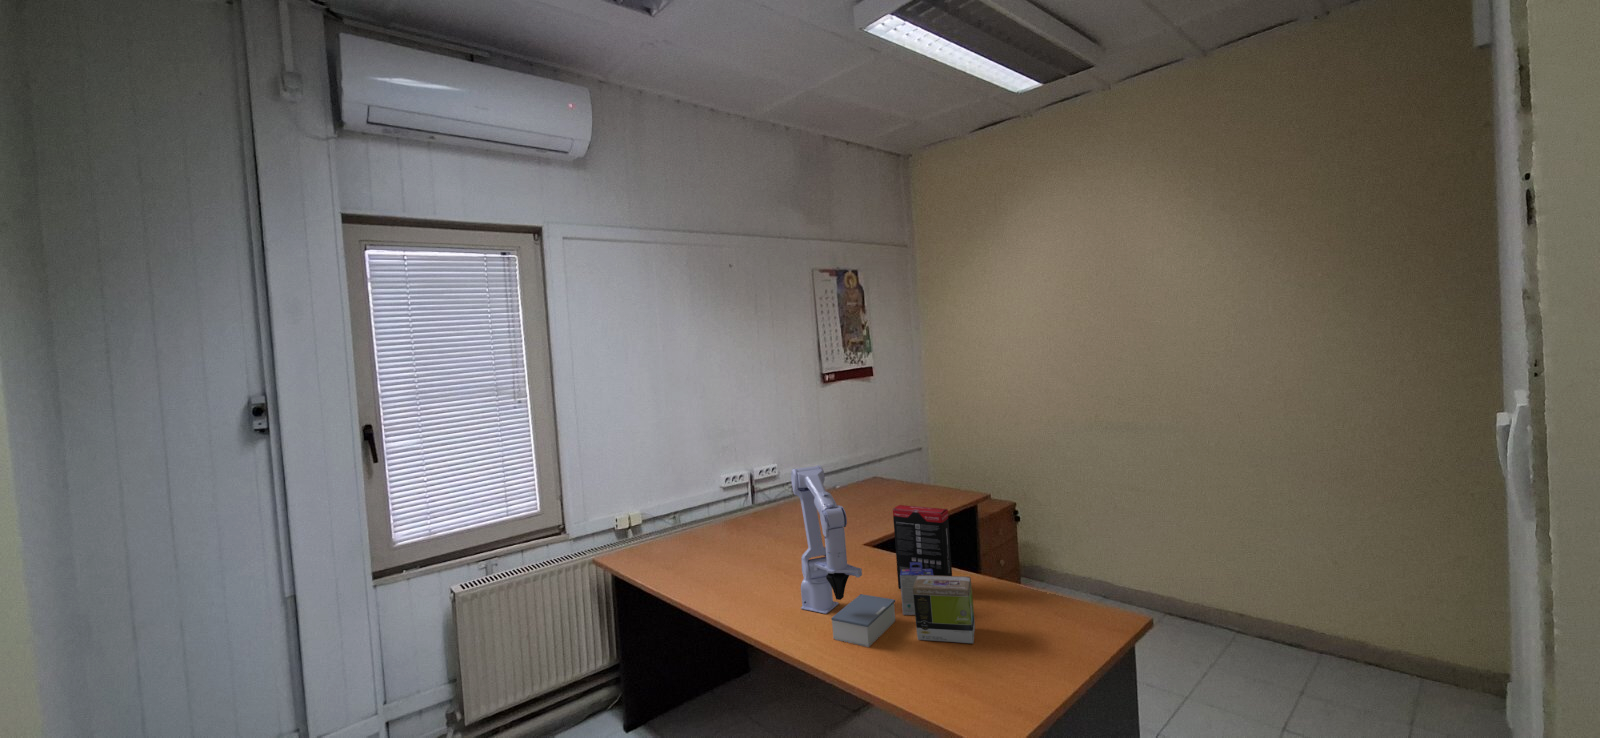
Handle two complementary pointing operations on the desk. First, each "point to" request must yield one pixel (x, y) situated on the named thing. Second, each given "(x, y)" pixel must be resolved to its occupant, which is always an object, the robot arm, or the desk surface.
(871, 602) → the box lid
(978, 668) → the desk surface
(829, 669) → the desk surface
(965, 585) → the tea box
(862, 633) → the storage box
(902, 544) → the graphics card box
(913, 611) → the ink cartridge box
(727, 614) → the desk surface
